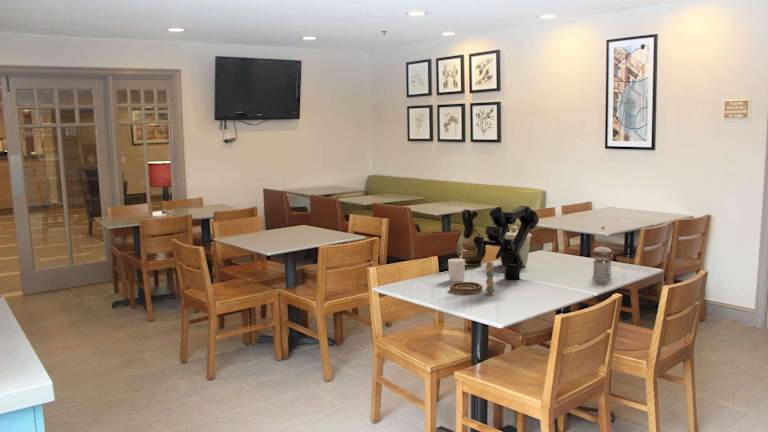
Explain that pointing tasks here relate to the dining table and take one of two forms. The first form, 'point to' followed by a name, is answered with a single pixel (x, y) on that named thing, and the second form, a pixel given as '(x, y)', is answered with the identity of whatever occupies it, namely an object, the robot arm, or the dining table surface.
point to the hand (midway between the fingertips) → (486, 257)
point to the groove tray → (465, 288)
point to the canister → (525, 247)
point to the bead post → (489, 279)
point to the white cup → (456, 269)
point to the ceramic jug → (469, 240)
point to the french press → (602, 264)
